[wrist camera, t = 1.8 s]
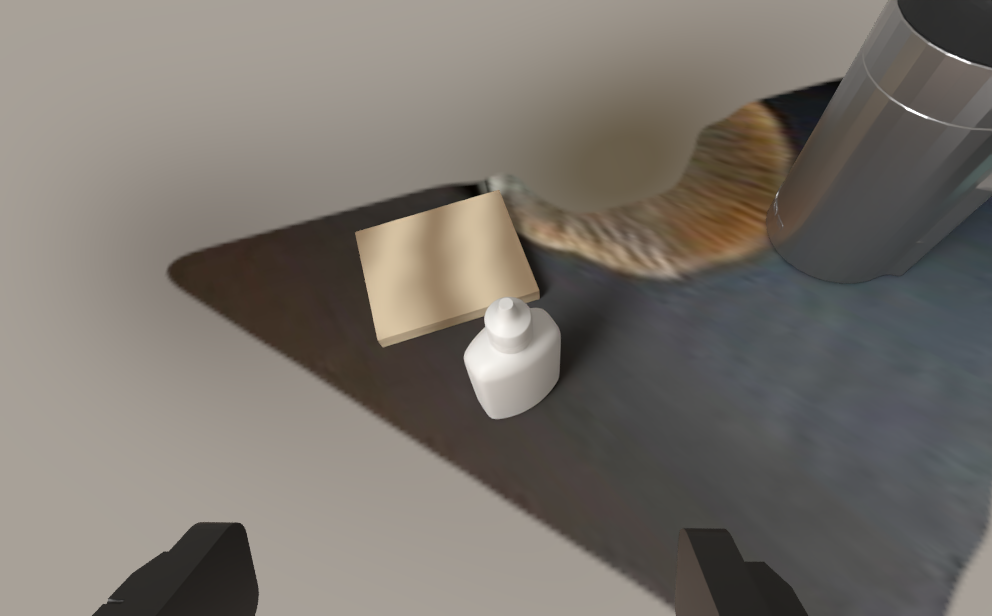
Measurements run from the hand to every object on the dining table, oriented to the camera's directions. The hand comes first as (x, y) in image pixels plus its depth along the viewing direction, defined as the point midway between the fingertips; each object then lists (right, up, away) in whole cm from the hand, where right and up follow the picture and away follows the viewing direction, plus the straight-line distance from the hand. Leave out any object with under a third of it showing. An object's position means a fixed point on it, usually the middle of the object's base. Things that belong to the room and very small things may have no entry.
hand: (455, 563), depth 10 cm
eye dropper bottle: (+2, -1, +26) cm, 26 cm away
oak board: (-3, +8, +31) cm, 32 cm away
